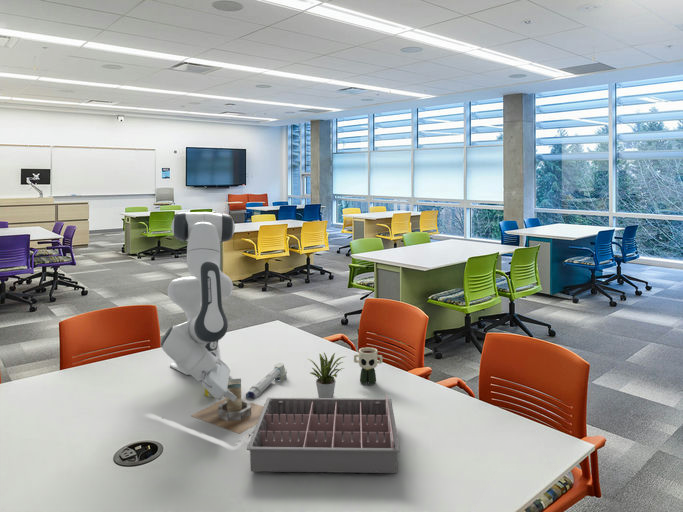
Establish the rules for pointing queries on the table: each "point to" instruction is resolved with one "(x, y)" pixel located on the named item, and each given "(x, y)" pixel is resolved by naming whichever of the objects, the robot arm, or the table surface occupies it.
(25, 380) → the table surface
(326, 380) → the house plant
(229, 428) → the collar board
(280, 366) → the electric toothbrush
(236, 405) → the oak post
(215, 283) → the robot arm
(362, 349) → the character mug
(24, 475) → the table surface
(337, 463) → the organizer tray
